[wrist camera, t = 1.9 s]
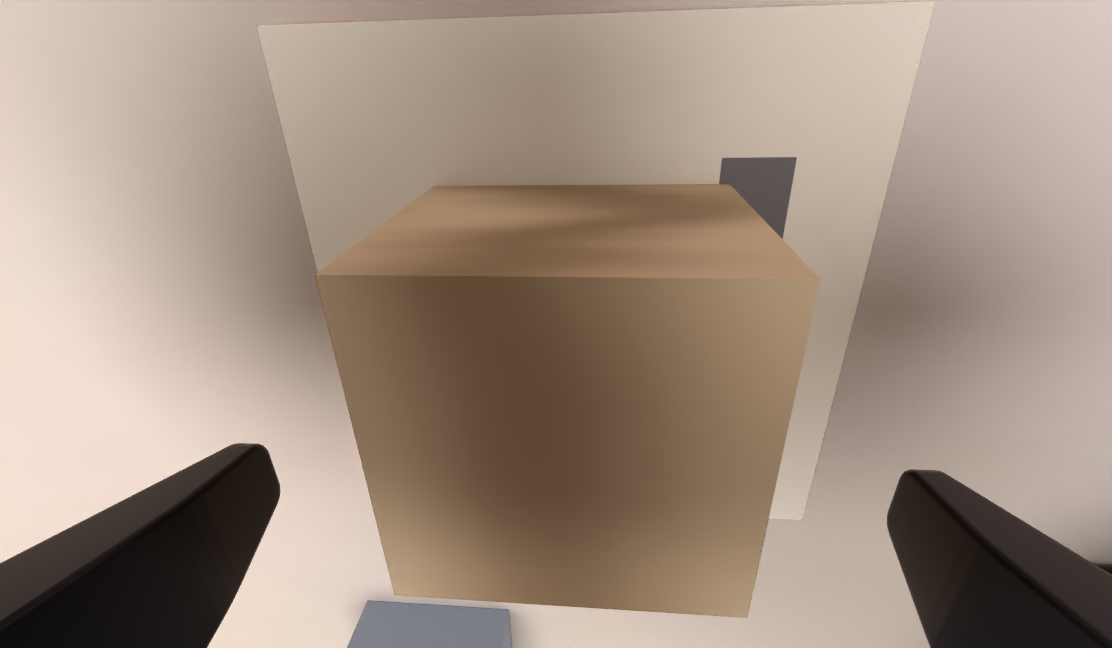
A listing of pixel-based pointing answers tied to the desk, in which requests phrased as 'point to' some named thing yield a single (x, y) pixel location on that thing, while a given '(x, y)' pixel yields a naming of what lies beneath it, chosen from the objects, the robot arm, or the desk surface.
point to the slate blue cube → (430, 626)
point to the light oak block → (572, 391)
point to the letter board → (619, 131)
